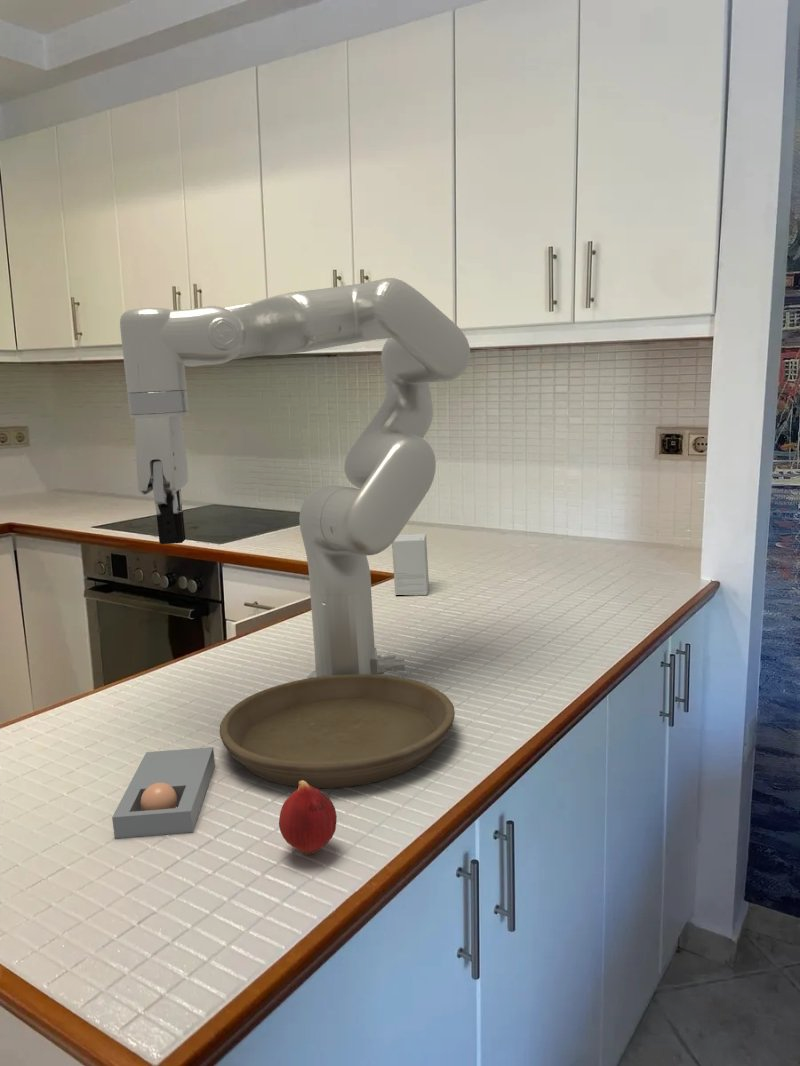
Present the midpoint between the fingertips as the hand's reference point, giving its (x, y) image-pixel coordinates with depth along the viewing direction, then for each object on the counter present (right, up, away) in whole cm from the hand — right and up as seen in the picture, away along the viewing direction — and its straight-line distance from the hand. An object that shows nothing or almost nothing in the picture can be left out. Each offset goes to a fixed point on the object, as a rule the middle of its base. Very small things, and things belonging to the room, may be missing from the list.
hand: (172, 542), depth 113 cm
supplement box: (+34, -12, +74) cm, 82 cm away
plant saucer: (+23, -27, -1) cm, 36 cm away
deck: (+4, -30, -15) cm, 34 cm away
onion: (+22, -32, -27) cm, 47 cm away
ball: (+4, -29, -19) cm, 35 cm away
